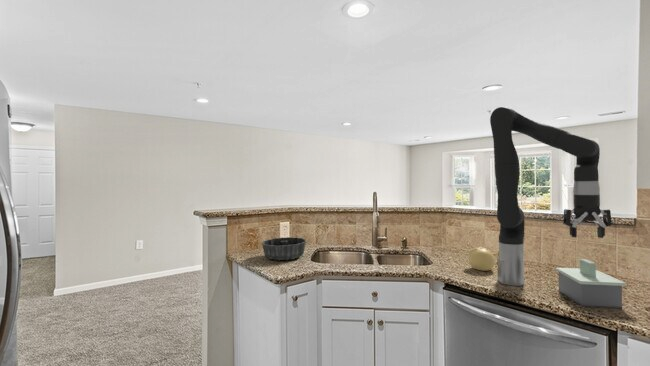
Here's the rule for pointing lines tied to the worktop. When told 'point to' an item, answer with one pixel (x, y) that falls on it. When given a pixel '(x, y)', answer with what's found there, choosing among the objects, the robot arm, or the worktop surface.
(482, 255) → the sculpture
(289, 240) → the bundt pan
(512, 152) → the robot arm
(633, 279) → the worktop surface
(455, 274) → the worktop surface
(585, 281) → the lid
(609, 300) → the tub
